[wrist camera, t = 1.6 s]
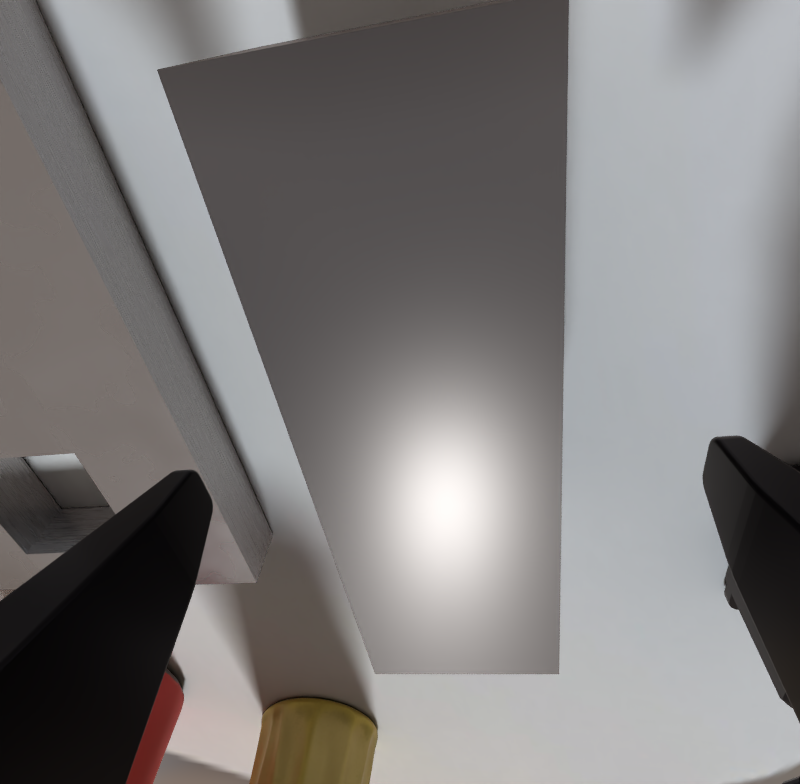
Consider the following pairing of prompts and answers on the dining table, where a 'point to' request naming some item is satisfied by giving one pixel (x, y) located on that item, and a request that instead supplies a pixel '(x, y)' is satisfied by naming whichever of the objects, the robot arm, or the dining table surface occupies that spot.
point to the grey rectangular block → (409, 308)
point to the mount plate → (91, 336)
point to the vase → (314, 744)
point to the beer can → (157, 731)
